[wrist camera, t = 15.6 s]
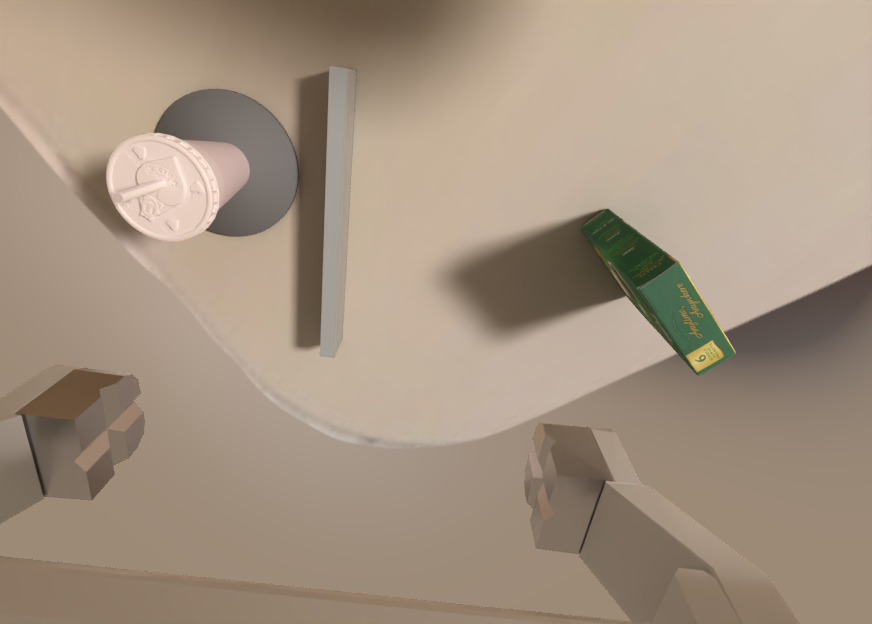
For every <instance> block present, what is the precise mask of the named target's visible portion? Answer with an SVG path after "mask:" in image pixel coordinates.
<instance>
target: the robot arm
mask: <svg viewBox="0 0 872 624" xmlns="http://www.w3.org/2000/svg"><path fill="white" fill-rule="evenodd" d="M140 394H141V393H140V387H139V382H138V379H137V378H136V377H134V376H133V375H132V374H125V373H117V372H110V371H103V370H95V369H88V368H79V367H72V366H64V365H53V366H48V367H47V368H45V369H43V370H42V371H40V372H39V373H37V374H36V375H35V376H33V377H32V378H30V379H29V380H27V381H26V382H24V383H23V384H22V385H20V386H18V387H17V388H16V389H14V390H12V391H11V392H9V393H8V394H6V395H5V396H4V397H2V398H1V399H0V524H1V523H2V522H4V521H6V520H8V519H9V518H11V517H13V516H15V515H16V514H18V513H20V512H22V511H23V510H25V509H27V508H29V507H30V506H32V505H34V504H36V503H38V502H39V501H41V500H43V499H44V497H57V498H70V499H82V500H93V499H94V497H95V496H96V495H97V494H98V493H99V492H100V491H101V489H102V488H103V487H104V486H105V485H106V484H107V483H108V481H109V480H110V479H111V478H112V477H113V476H114V465H115V464H117V463H120V462H122V461H124V460H126V459H128V458H129V457H130V456H131V455H132V454H133V452H134V451H135V450H136V449H137V448H138V445H139V443H140V441H141V438H142V436H143V434H144V425H145V420H144V412H143V411H142V410H141V408H140V407H139V406H138V405H137V404H136V403H135V402H134V401H135V400H136V399H137V397H138V396H139V395H140ZM533 441H534V445H535V451H534V452H532V453H531V454H530V455H529V456H528V460H527V465H526V469H525V481H524V484H525V495H526V500H527V503H528V504H529V505H530V506H531V507H532V508H533V512H532V515H531V519H530V521H531V526H532V531H533V536H534V541H535V546H536V548H538V549H545V550H552V551H559V552H567V553H574V554H580V558H581V559H582V560H583V561H584V563H585V564H586V565H587V566H588V568H589V569H590V570H591V571H592V572H593V574H594V575H595V576H596V578H597V579H598V580H599V581H600V583H601V584H602V585H603V586H604V587H605V589H606V590H607V591H608V592H609V594H610V595H611V596H612V597H613V599H614V600H615V601H616V602H617V604H618V605H619V606H620V607H621V609H622V610H623V611H624V612H625V614H626V615H627V616H628V617H629V618H630V620H631V621H632V622H631V621H621V620H611V619H601V618H591V617H582V616H572V615H562V614H552V613H542V612H533V611H523V610H513V609H502V608H493V607H483V606H474V605H463V604H455V603H446V602H436V601H427V600H417V599H407V598H398V597H389V596H380V595H370V594H361V593H351V592H342V591H332V590H323V589H313V588H303V587H294V586H284V585H274V584H265V583H255V582H245V581H235V580H226V579H216V578H206V577H196V576H187V575H177V574H167V573H158V572H148V571H138V570H128V569H119V568H109V567H99V566H90V565H79V564H71V563H61V562H51V561H42V560H32V559H22V558H13V557H2V556H0V624H800V623H799V622H798V620H797V619H796V617H795V616H794V614H793V613H792V611H791V610H790V608H789V607H788V605H787V604H786V602H785V601H784V599H783V598H782V596H781V595H780V593H779V592H778V590H777V589H776V587H775V586H774V584H773V582H772V581H771V579H770V578H769V576H767V575H766V574H765V573H763V572H762V571H761V570H760V569H758V568H757V567H756V566H754V565H753V564H752V563H750V562H749V561H748V560H746V559H745V558H744V557H742V556H741V555H740V554H738V553H737V552H736V551H734V550H733V549H732V548H731V547H729V546H728V545H726V544H725V543H724V542H723V541H721V540H720V539H719V538H717V537H716V536H715V535H713V534H712V533H711V532H709V531H708V530H707V529H705V528H704V527H703V526H701V525H700V524H699V523H697V522H696V521H695V520H693V519H692V518H691V517H689V516H688V515H687V514H685V513H684V512H683V511H682V510H680V509H679V508H677V507H676V506H675V505H674V504H672V503H671V502H670V501H668V500H667V499H666V498H664V497H663V496H662V495H661V494H659V493H658V492H657V491H655V490H654V489H653V488H651V487H650V486H646V485H641V483H640V481H639V479H638V477H637V475H636V473H635V471H634V469H633V467H632V465H631V463H630V461H629V459H628V457H627V455H626V453H625V451H624V449H623V447H622V445H621V443H620V441H619V439H618V437H617V435H616V433H615V432H614V431H613V430H612V429H606V428H594V427H578V426H568V425H559V424H549V423H540V422H539V423H538V425H537V426H536V429H535V432H534V436H533Z"/></svg>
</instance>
